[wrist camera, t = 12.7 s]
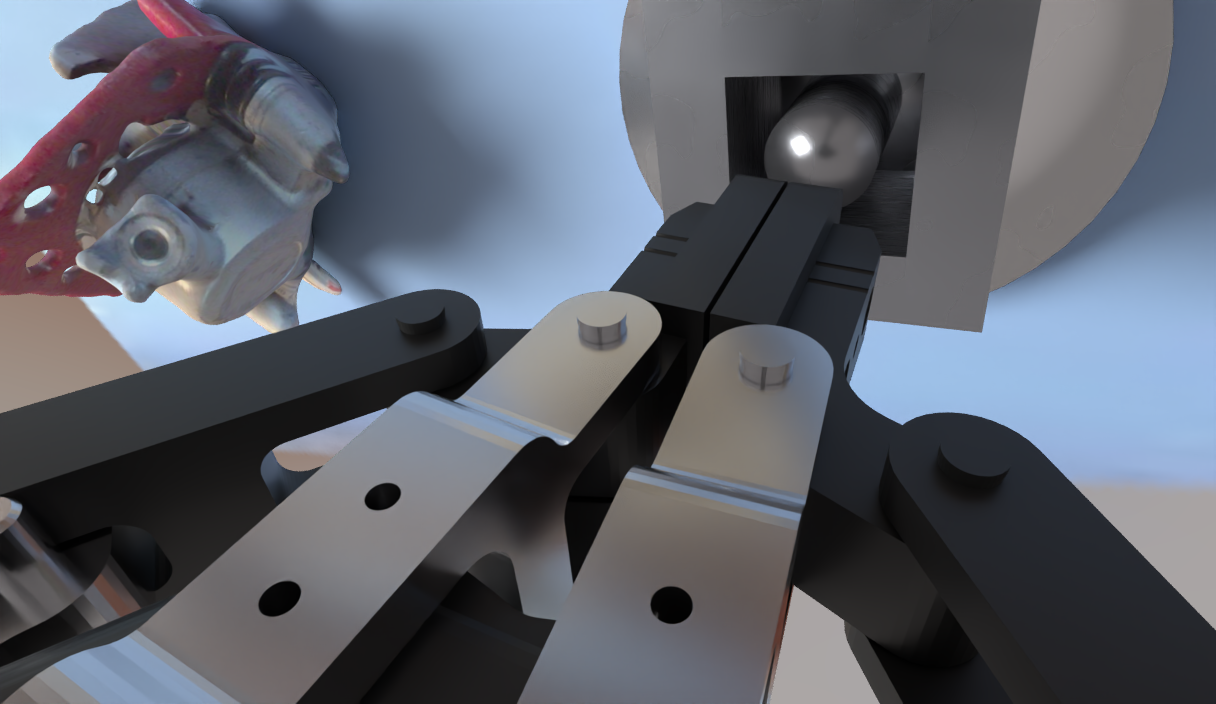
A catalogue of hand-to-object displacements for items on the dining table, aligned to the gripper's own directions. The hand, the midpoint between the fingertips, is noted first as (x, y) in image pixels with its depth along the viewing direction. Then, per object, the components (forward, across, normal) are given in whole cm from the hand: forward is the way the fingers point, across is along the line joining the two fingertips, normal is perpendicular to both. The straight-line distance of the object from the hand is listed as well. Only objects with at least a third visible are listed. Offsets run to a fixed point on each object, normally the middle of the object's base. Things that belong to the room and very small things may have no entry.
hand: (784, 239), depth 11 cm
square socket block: (+7, 0, 0) cm, 7 cm away
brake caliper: (+8, +20, +4) cm, 22 cm away
